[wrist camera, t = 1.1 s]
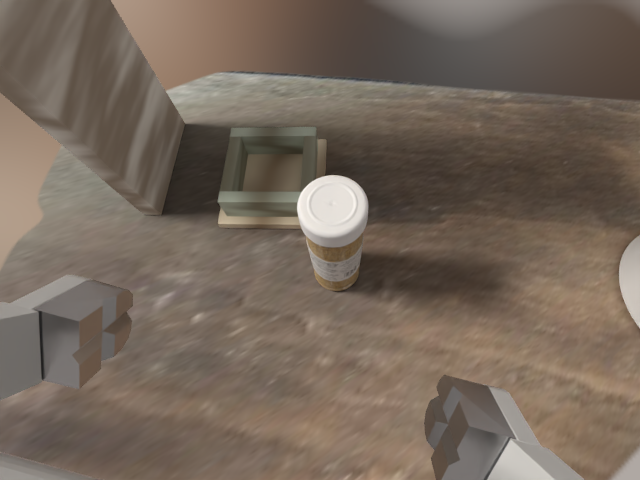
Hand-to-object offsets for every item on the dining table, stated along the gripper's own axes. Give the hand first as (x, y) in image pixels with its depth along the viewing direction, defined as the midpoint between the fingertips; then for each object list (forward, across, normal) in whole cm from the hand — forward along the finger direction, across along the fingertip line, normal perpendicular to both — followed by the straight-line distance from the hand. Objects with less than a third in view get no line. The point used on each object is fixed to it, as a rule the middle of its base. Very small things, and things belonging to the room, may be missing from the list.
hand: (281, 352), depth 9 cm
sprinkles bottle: (+24, -2, +8) cm, 25 cm away
